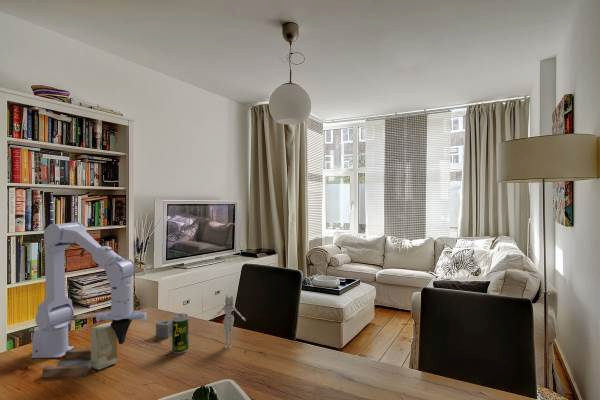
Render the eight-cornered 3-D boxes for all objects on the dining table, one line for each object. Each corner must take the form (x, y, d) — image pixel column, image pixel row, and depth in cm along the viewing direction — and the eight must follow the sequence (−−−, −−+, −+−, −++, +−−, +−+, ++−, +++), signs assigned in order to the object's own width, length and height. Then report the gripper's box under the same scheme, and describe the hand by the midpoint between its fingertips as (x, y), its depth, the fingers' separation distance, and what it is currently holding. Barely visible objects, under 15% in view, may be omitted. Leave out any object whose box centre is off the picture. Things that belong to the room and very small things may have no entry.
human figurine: (210, 347, 128) (210, 296, 127) (214, 343, 132) (214, 293, 131) (243, 349, 126) (244, 297, 126) (246, 344, 130) (247, 294, 130)
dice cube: (155, 337, 137) (155, 323, 136) (163, 332, 141) (163, 319, 141) (167, 338, 135) (167, 325, 135) (175, 333, 140) (175, 320, 140)
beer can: (171, 348, 126) (171, 314, 126) (187, 346, 128) (187, 312, 128) (172, 355, 121) (172, 319, 121) (189, 352, 124) (189, 317, 123)
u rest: (42, 377, 106) (42, 368, 106) (68, 357, 119) (68, 349, 119) (85, 376, 107) (85, 368, 107) (106, 356, 120) (106, 349, 120)
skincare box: (98, 370, 110) (97, 330, 110) (90, 367, 112) (89, 327, 112) (118, 362, 115) (117, 323, 115) (110, 358, 118) (109, 321, 117)
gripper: (90, 303, 109) (91, 348, 109) (140, 302, 110) (140, 347, 110) (102, 297, 116) (102, 339, 116) (148, 296, 117) (149, 338, 117)
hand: (121, 342), depth 114 cm, fingers closed
